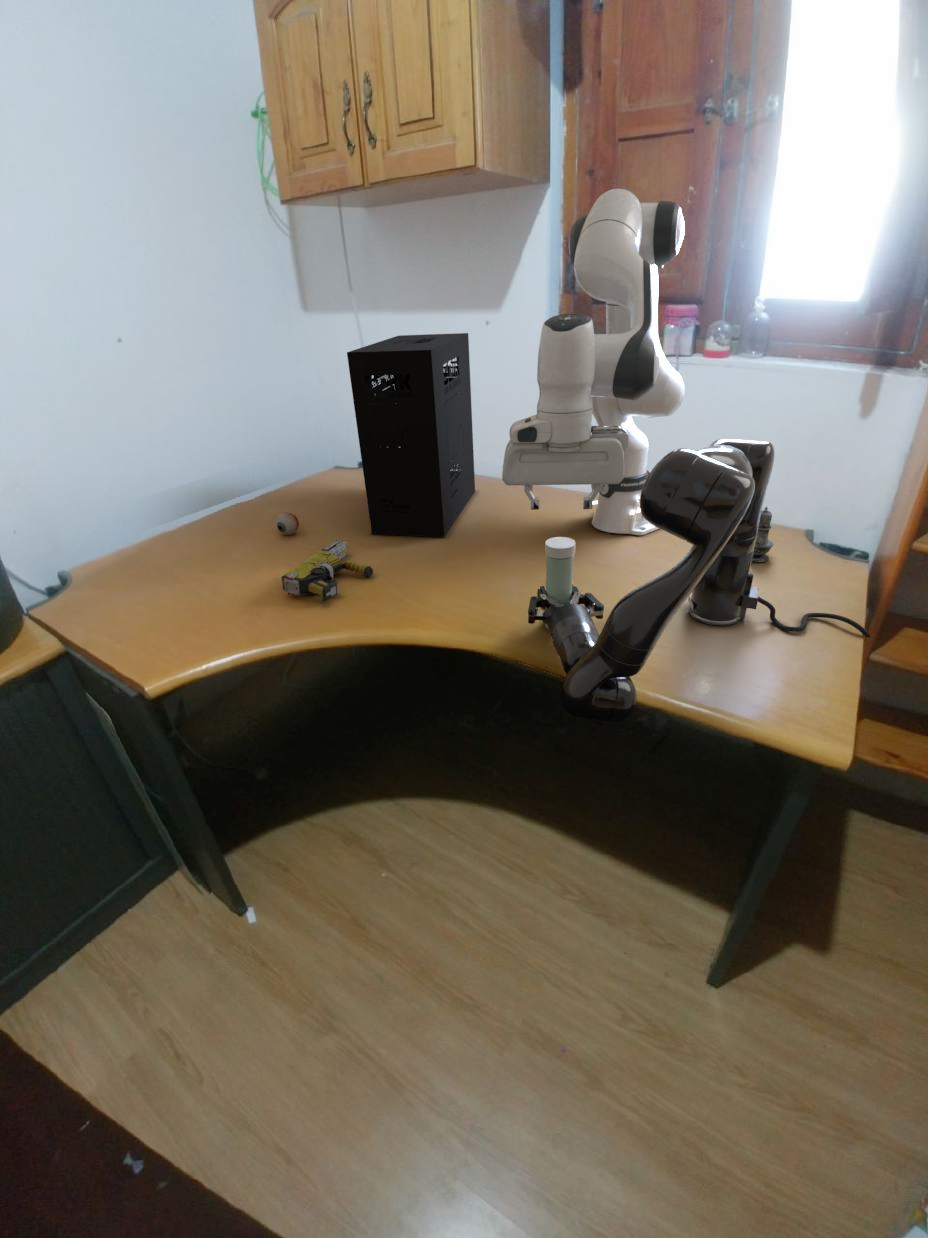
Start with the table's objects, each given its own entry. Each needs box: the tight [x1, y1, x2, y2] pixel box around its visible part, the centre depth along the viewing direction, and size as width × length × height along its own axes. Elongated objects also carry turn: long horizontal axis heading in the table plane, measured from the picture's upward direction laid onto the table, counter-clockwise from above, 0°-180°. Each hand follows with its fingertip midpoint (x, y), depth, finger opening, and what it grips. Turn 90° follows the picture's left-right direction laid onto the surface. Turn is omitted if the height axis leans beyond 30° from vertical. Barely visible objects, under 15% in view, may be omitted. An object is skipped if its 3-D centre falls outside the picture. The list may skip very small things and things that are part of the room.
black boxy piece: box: [346, 332, 476, 538], centre depth 164 cm, size 38×20×45 cm, turn 167°
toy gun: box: [281, 539, 374, 603], centre depth 138 cm, size 5×24×15 cm
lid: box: [544, 536, 576, 559], centre depth 108 cm, size 5×5×2 cm
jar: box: [544, 555, 574, 629], centre depth 112 cm, size 5×5×17 cm
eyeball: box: [275, 511, 300, 536], centre depth 163 cm, size 6×6×6 cm
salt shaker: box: [752, 506, 774, 563], centre depth 134 cm, size 6×6×12 cm
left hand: (561, 508), depth 104 cm, fingers open, 8 cm apart
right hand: (555, 589), depth 115 cm, fingers closed on jar, 5 cm apart
